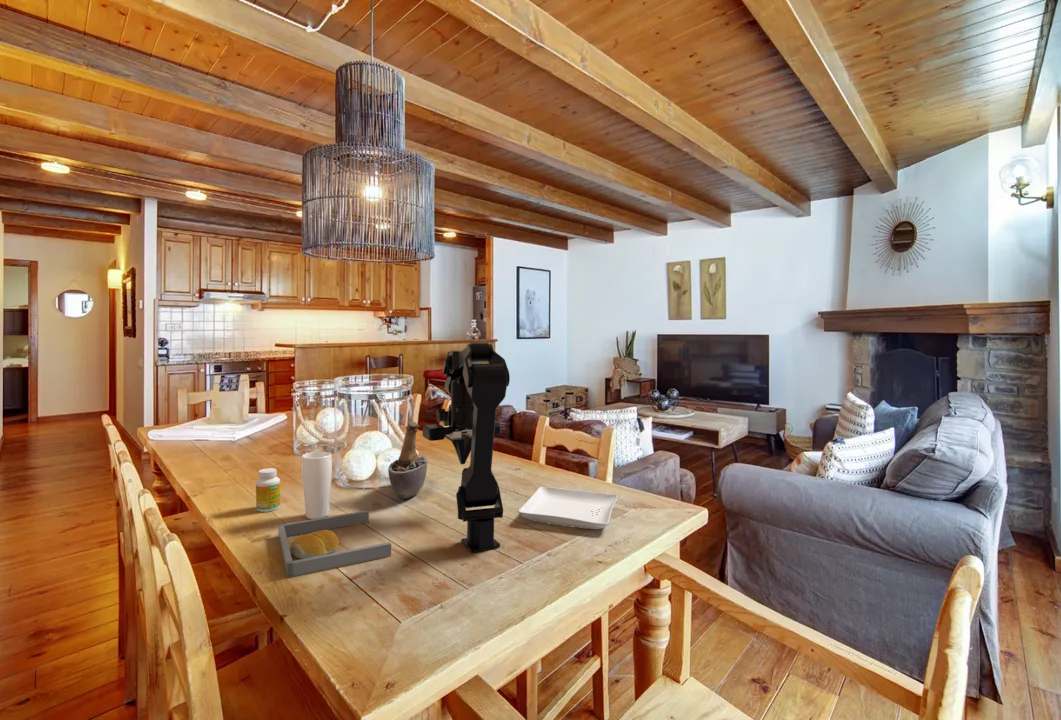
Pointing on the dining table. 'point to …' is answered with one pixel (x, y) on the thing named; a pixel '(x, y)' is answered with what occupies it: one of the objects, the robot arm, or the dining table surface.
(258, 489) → the supplement bottle
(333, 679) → the dining table surface
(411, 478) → the mortar and pestle
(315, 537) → the bread roll
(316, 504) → the drinking glass
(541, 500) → the salad plate
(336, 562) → the gray three-sided bracket
